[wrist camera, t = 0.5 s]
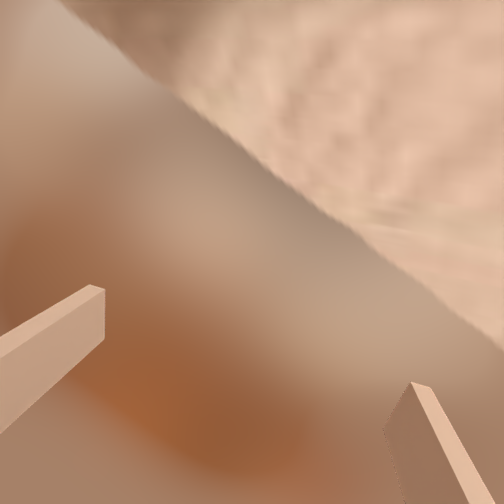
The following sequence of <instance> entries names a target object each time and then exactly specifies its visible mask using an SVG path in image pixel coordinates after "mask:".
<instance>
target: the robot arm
mask: <svg viewBox="0 0 504 504" xmlns="http://www.w3.org/2000/svg"><path fill="white" fill-rule="evenodd" d="M104 338H105V289H103V288H99V287H96V286H93V285H90V284H89V285H87V286H86V287H84V288H82V289H81V290H79V291H77V292H76V293H74V294H72V295H70V296H69V297H67V298H65V299H64V300H62V301H60V302H59V303H57V304H55V305H54V306H52V307H50V308H48V309H47V310H45V311H43V312H42V313H40V314H38V315H37V316H35V317H33V318H32V319H30V320H28V321H26V322H25V323H23V324H21V325H20V326H18V327H16V328H15V329H13V330H11V331H10V332H8V333H6V334H4V335H3V336H1V337H0V434H1V433H2V432H3V431H4V430H5V429H6V428H7V427H8V426H9V425H10V424H12V423H13V422H14V421H15V420H16V419H17V418H18V417H19V416H20V415H21V414H23V413H24V412H25V411H26V410H27V409H28V408H29V407H30V406H31V405H32V404H33V403H35V402H36V401H37V400H38V399H39V398H40V397H41V396H42V395H43V394H45V393H46V392H47V391H48V390H49V389H50V388H51V387H52V386H53V385H54V384H55V383H56V382H58V381H59V380H60V379H61V378H62V377H63V376H64V375H65V374H66V373H67V372H69V371H70V370H71V369H72V368H73V367H74V366H75V365H76V364H78V363H79V362H80V361H81V360H82V359H83V358H84V357H85V356H86V355H87V354H88V353H89V352H91V351H92V350H93V349H94V348H95V347H96V346H97V345H98V344H99V343H101V342H102V341H103V340H104ZM383 431H384V435H385V438H386V441H387V445H388V448H389V452H390V455H391V458H392V462H393V465H394V468H395V472H396V475H397V478H398V482H399V485H400V489H401V492H402V495H403V499H404V502H405V504H495V502H494V501H493V499H492V497H491V495H490V494H489V492H488V490H487V488H486V486H485V484H484V483H483V481H482V479H481V477H480V475H479V474H478V472H477V470H476V469H475V467H474V465H473V463H472V461H471V459H470V458H469V456H468V454H467V452H466V450H465V449H464V447H463V445H462V443H461V441H460V440H459V438H458V436H457V434H456V433H455V431H454V429H453V427H452V425H451V424H450V422H449V420H448V418H447V417H446V415H445V413H444V411H443V409H442V407H441V406H440V404H439V402H438V400H437V398H436V397H435V395H434V393H433V391H432V390H431V388H430V387H427V386H423V385H420V384H417V383H413V382H410V383H409V385H408V387H407V388H406V390H405V391H404V393H403V395H402V397H401V398H400V400H399V402H398V403H397V405H396V407H395V408H394V410H393V412H392V413H391V415H390V417H389V418H388V420H387V422H386V423H385V425H384V427H383Z"/></svg>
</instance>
